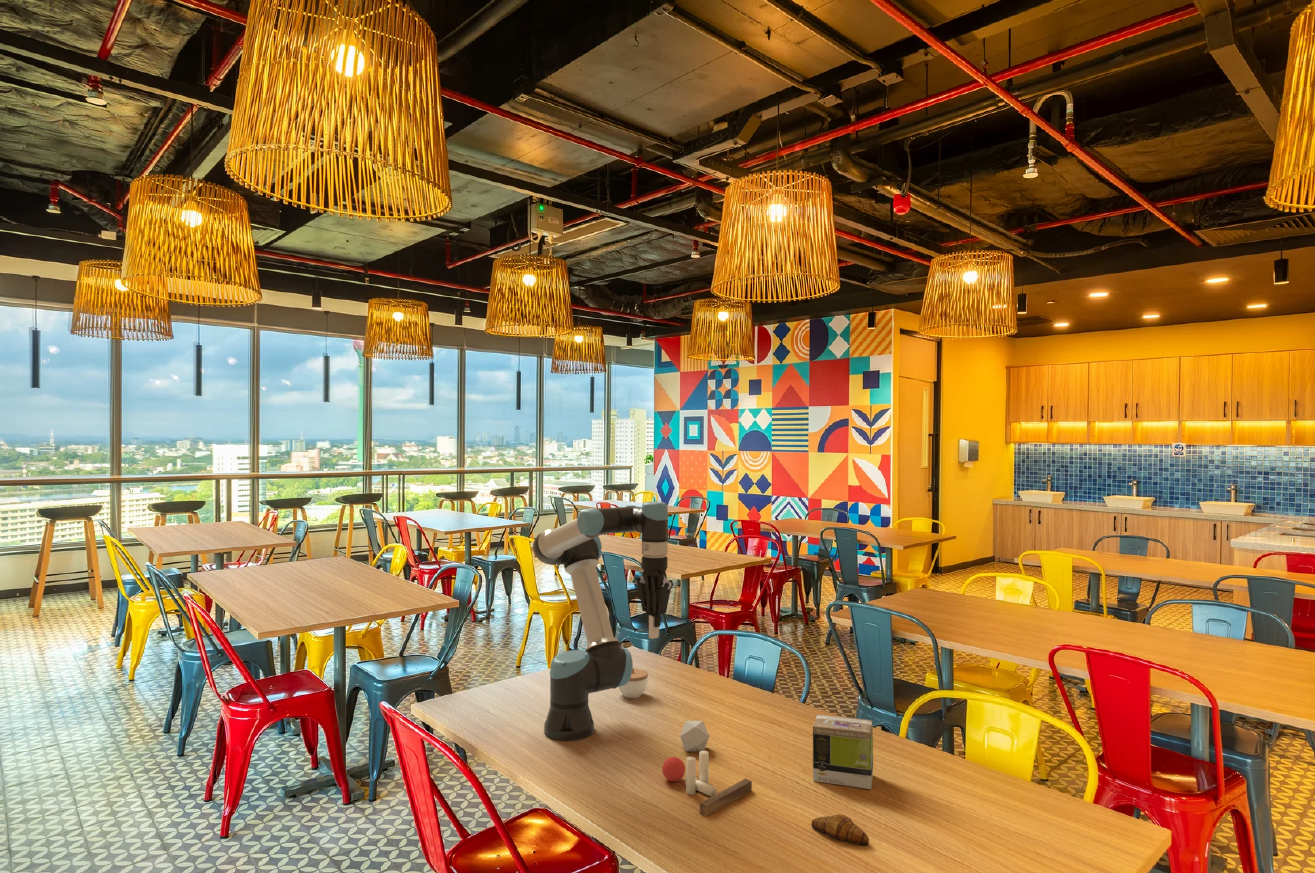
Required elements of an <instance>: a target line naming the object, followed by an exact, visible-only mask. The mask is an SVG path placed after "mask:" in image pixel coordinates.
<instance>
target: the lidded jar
mask: <svg viewBox="0 0 1315 873" xmlns="http://www.w3.org/2000/svg"><path fill="white" fill-rule="evenodd" d="M648 677H649V673H648V671H646V670H644V669H640V668H634V667H633V670H632V674H631V678H630V680H629V681H628V683H627V684H625V685H623V686H620V687H618V689H619V691H620V693H621V694H622V695H623V697H625V698H627V699H638V698H640V697H641V696H643V694H644V693H645V691H646V689H647V686H648Z"/></svg>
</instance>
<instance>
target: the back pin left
mask: <svg viewBox="0 0 1315 873" xmlns="http://www.w3.org/2000/svg"><path fill="white" fill-rule="evenodd" d="M698 752H699V754H698V757H699V758H698V763H699V765H698V766H699V767H698V780H700V781H702V782H704V783H707V784H709V766H710V765H709V761H710V760H709V759H710V758H709V754H710V753H709V751H707V750H704V751H698Z"/></svg>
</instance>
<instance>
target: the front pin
mask: <svg viewBox="0 0 1315 873" xmlns="http://www.w3.org/2000/svg"><path fill="white" fill-rule="evenodd" d="M684 785H685V786H686V778H685V779H684ZM696 791H697V792H700V793H702V794H704V795H706V796H709V797H712V796H714V795H716V794H717V787H716V786H714V785H711V784H709V783H708V784H707V783H704V782H702V781H700V780H699V778H698V779H697V778H696Z"/></svg>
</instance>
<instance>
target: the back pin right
mask: <svg viewBox="0 0 1315 873" xmlns="http://www.w3.org/2000/svg"><path fill="white" fill-rule="evenodd" d="M685 761H686V762H685V764H686V767H685V774H686V775H685V779H686V785H685V793H686V794H687V795H695V794H696V791H697V790H696V779H697V778H696V777H697V775H696V773H697V772H696V771H697V770H696V769H697V768H696V767H697V759H696V757H694V756H687V757H686V760H685Z"/></svg>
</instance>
